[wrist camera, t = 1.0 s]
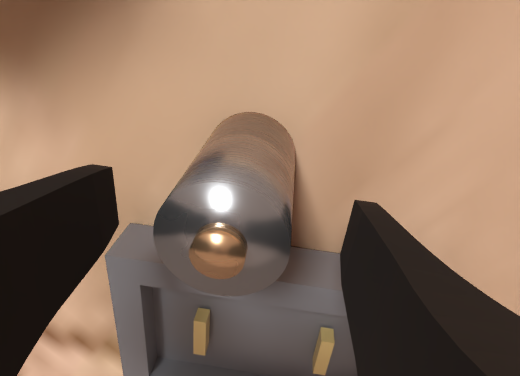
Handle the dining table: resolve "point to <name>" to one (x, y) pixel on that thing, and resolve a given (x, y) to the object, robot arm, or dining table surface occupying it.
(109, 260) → the grey tray with pegs
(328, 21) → the dining table surface
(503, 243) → the dining table surface
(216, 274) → the cell
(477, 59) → the dining table surface
